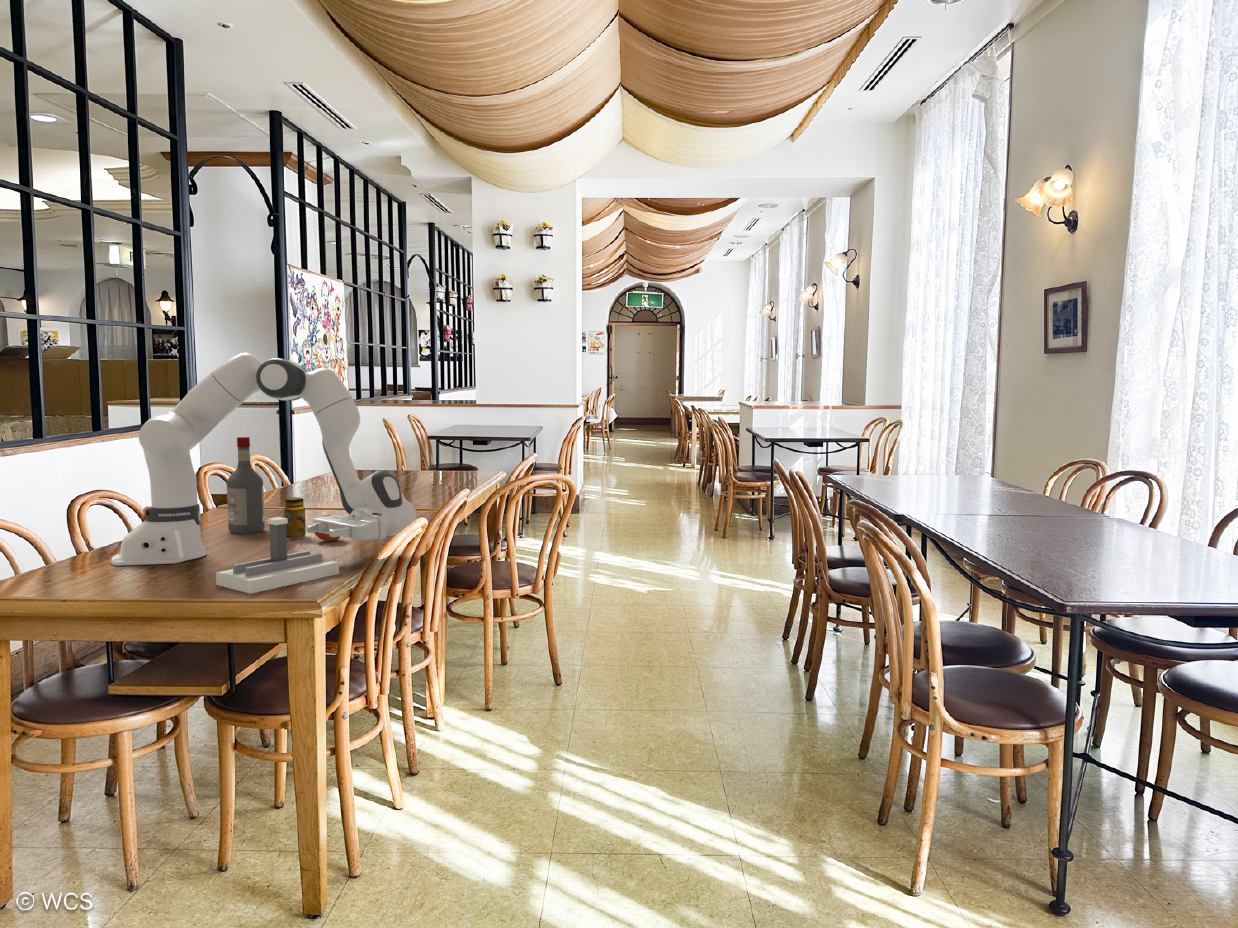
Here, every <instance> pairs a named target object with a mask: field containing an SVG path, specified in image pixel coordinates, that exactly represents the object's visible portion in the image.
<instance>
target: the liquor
mask: <svg viewBox="0 0 1238 928" xmlns="http://www.w3.org/2000/svg"><path fill="white" fill-rule="evenodd" d="M236 447H237V466H236V467H237V468H236V469H235V470H234V471H233V472H232V474H231V475H229V477H228V478H227V481H226V500H227V501H226V503H227V522H228V523H227V524H228V531H229V533H231V534H237V535H250V534H254V533H256V534H257V533H259V532H261V531H262V532H263V531H264V529H265V528H266V522H265V500H264V499H265V498H264V497H265V496H264V495H265V494H264V480H263V478H262V476H261V475H260V474H259V473H258V472H257V471H256V470H255V469H254V468H253V467H252V464H251V452H250V448H251V439H250V437H249V436H241V437H239V436H238V437H236Z"/></svg>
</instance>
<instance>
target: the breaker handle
mask: <svg viewBox="0 0 1238 928" xmlns="http://www.w3.org/2000/svg"><path fill="white" fill-rule="evenodd" d="M287 523H288V519H287V518H284V517H281V516H277V517H270V518H267V525H269V547H270V550H269V551H270V558H271V559H269V560H270V563H271V562H276V561H281V560H286V559H287V554H288V547H287V546H288V544H287V542H288V539H287V538H286V524H287Z"/></svg>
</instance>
